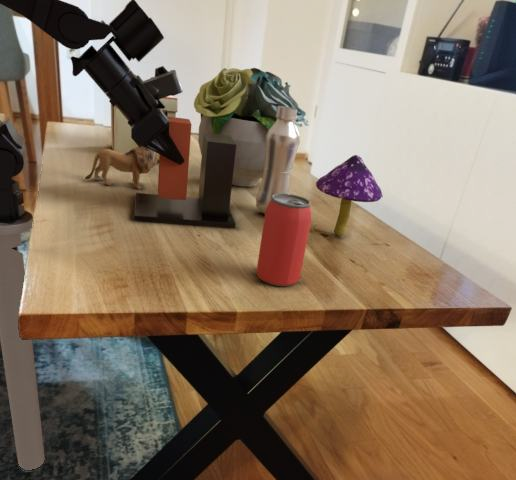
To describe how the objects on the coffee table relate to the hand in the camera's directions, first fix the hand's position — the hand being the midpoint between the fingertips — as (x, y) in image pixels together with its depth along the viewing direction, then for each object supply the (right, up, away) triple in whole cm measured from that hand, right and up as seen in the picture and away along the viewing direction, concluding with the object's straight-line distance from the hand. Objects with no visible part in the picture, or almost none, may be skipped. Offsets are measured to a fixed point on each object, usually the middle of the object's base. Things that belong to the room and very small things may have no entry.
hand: (181, 159), depth 91 cm
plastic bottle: (+16, -7, +12) cm, 22 cm away
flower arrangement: (+9, +5, +30) cm, 32 cm away
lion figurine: (-14, 0, +16) cm, 21 cm away
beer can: (+17, -24, -15) cm, 33 cm away
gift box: (-18, +17, +42) cm, 49 cm away
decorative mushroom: (+29, -13, +7) cm, 33 cm away
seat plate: (0, -8, +5) cm, 10 cm away
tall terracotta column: (-2, -6, +3) cm, 7 cm away
